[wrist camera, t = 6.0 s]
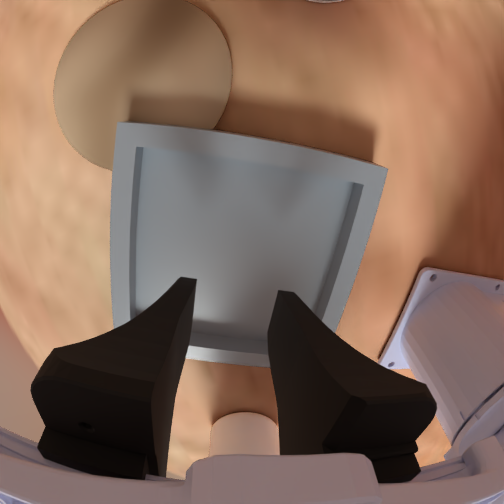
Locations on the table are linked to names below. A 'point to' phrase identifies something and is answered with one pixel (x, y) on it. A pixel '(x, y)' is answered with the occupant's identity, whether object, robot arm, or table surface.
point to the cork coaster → (140, 73)
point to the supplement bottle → (325, 1)
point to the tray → (235, 230)
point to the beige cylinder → (244, 435)
